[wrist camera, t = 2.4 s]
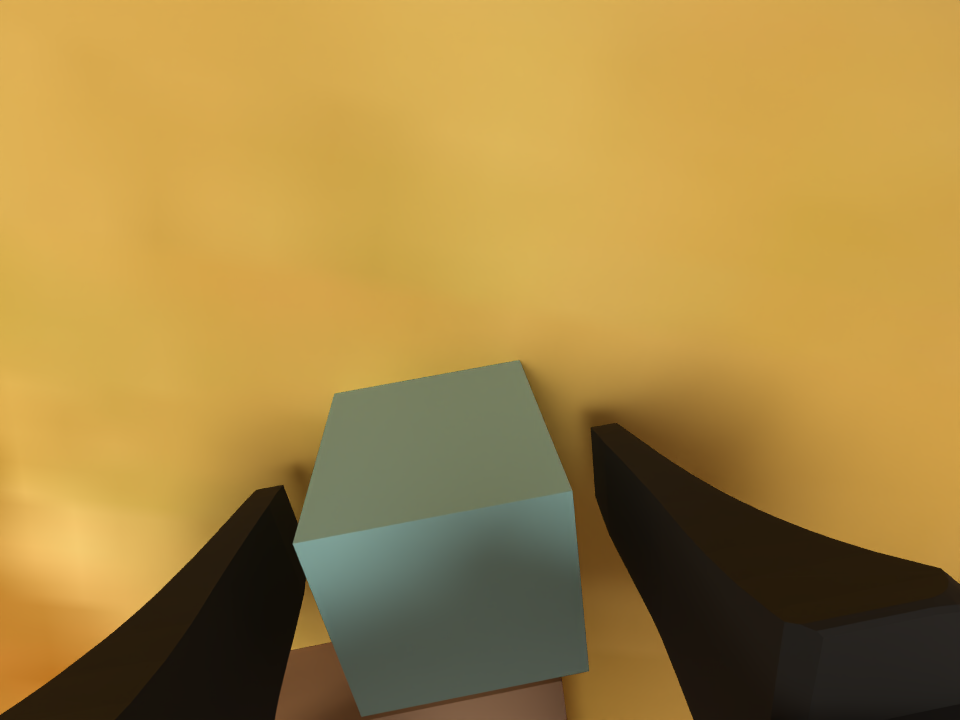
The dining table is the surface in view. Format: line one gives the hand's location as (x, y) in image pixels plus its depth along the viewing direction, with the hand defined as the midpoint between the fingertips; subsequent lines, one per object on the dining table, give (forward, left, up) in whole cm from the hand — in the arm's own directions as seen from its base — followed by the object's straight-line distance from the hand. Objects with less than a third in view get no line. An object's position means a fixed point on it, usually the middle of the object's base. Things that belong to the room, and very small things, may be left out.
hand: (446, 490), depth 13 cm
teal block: (0, 0, -2) cm, 2 cm away
